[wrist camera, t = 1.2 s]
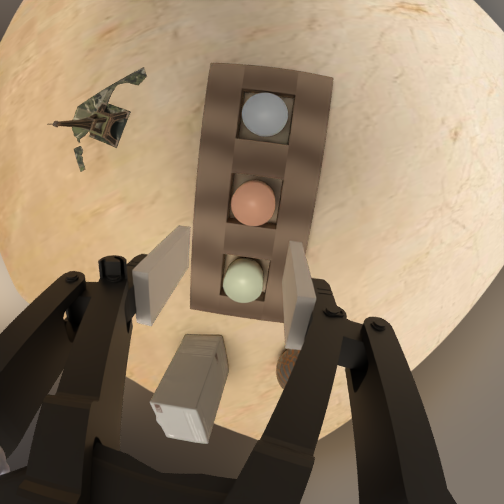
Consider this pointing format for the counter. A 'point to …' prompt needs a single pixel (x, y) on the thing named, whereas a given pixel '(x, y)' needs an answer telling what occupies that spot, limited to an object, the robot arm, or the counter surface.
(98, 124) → the eiffel tower figurine
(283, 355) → the vase
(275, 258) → the button board
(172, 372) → the skincare box
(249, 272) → the button sage
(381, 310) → the counter surface
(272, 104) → the button slate
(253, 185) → the button terracotta
